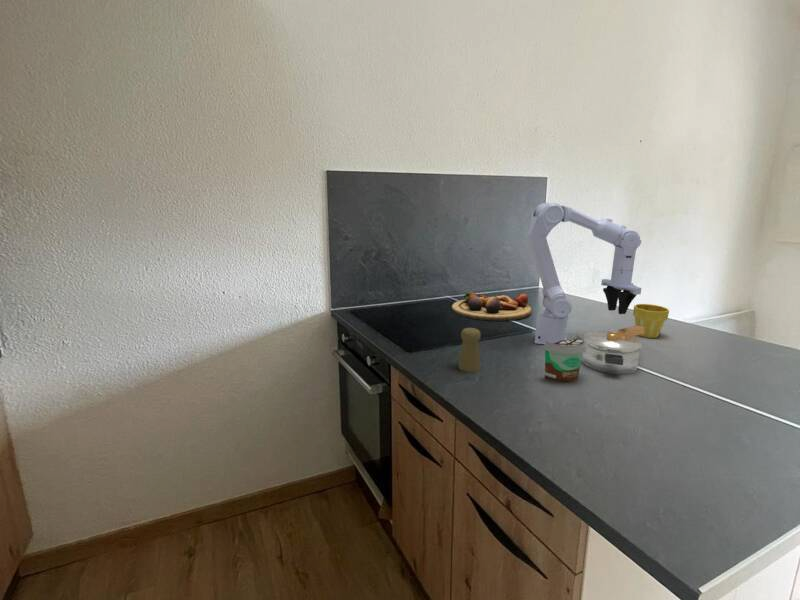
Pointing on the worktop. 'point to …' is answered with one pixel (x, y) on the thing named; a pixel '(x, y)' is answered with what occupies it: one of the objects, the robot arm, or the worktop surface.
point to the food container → (564, 359)
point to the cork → (470, 350)
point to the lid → (615, 340)
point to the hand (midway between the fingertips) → (616, 312)
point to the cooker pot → (610, 360)
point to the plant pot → (650, 318)
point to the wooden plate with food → (492, 307)
